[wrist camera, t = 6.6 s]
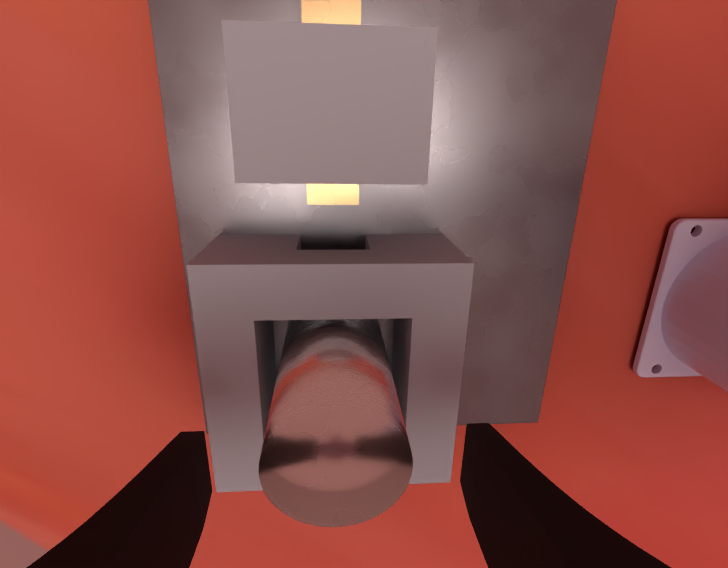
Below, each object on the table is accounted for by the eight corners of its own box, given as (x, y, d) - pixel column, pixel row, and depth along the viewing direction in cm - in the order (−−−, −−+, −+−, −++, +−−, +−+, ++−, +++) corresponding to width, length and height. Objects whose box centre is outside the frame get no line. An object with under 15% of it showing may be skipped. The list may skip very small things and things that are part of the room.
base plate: (653, -299, 13) (678, -332, 12) (528, 409, 22) (537, 422, 21) (113, -349, 12) (95, -390, 11) (212, 419, 21) (206, 433, 20)
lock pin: (376, -173, 13) (391, -276, 10) (369, 197, 17) (378, 213, 13) (282, -179, 13) (265, -287, 9) (296, 196, 16) (287, 213, 13)
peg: (376, 370, 19) (406, 525, 12) (287, 370, 19) (260, 529, 12) (382, 288, 18) (420, 405, 11) (286, 286, 18) (255, 406, 10)
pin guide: (409, 54, 15) (437, 27, 11) (404, 171, 16) (427, 184, 12) (251, 50, 15) (221, 20, 11) (259, 169, 16) (235, 183, 12)
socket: (443, 234, 17) (474, 263, 14) (428, 417, 20) (450, 482, 17) (218, 234, 17) (186, 265, 13) (238, 423, 20) (216, 492, 16)
